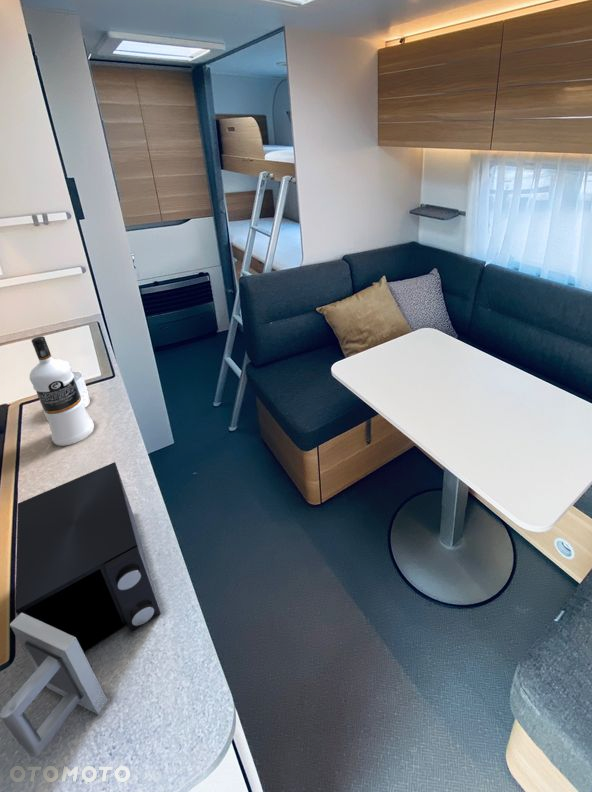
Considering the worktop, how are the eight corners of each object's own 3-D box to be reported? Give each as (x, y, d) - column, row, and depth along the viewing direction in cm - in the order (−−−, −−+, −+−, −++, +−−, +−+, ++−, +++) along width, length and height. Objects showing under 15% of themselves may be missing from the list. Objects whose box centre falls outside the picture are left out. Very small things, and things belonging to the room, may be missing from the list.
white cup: (82, 396, 126) (72, 369, 123) (98, 403, 123) (88, 375, 119) (54, 411, 120) (43, 383, 116) (70, 419, 117) (59, 390, 113)
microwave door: (54, 779, 52) (10, 715, 46) (0, 746, 55) (-49, 681, 49) (108, 701, 59) (76, 637, 53) (57, 676, 62) (21, 611, 56)
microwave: (162, 619, 69) (140, 556, 63) (53, 691, 60) (14, 626, 54) (134, 519, 87) (115, 461, 80) (47, 563, 78) (17, 503, 72)
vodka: (94, 419, 116) (61, 325, 105) (96, 438, 109) (60, 339, 98) (54, 432, 112) (14, 336, 100) (53, 453, 104) (10, 351, 93)
